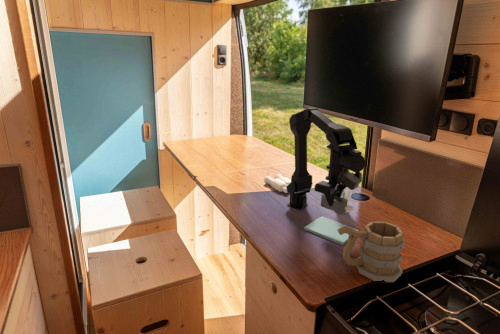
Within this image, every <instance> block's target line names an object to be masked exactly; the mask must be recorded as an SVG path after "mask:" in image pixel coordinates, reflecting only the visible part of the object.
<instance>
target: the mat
mask: <svg viewBox="0 0 500 334" xmlns="http://www.w3.org/2000/svg"><path fill="white" fill-rule="evenodd" d="M344 226H347V227H349V228H351V229H354V230H356V231H360V230H359V229H357V228H354V227H351V226H349V225H347V224H344V223H341V222H338V221H336V220H334V219H331V218H328V217H325V216H323V215H322V216H320V217H318V218H316V219H315V220H313V221H312V222H310V223H309V224H307V225H305V226H304V227H303V228H304V229H303V230H305V231H308V232H310V233H312V234H315V235H317V236H318V237H322V238H324V239H327V240H328V241H331V242H334V243H336V244H338V245H341V246H345V245H346V244H347V242H348V238H349V235H348V234H347V233H344V234H342V235H340V234H339V232H338V229H339V228H342V227H344Z"/></svg>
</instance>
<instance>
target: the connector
mask: <svg viewBox="0 0 500 334" xmlns="http://www.w3.org/2000/svg"><path fill="white" fill-rule="evenodd" d="M320 199H321V201H320V207H322V208H324V209H327V210H331V211H334V212H336V213H337V212H338V214H342V213H344V214H347V213H346V212H347V210H348V211H349V212H354V211H355V207H354V206H351V205H347V204H348V200H347V199H344V198H341V197H338V196H335V197H334V201H333V205H332V206H329V204H328V202H327V199H326V197H325V195H324V194H323V193H321V198H320Z"/></svg>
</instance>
